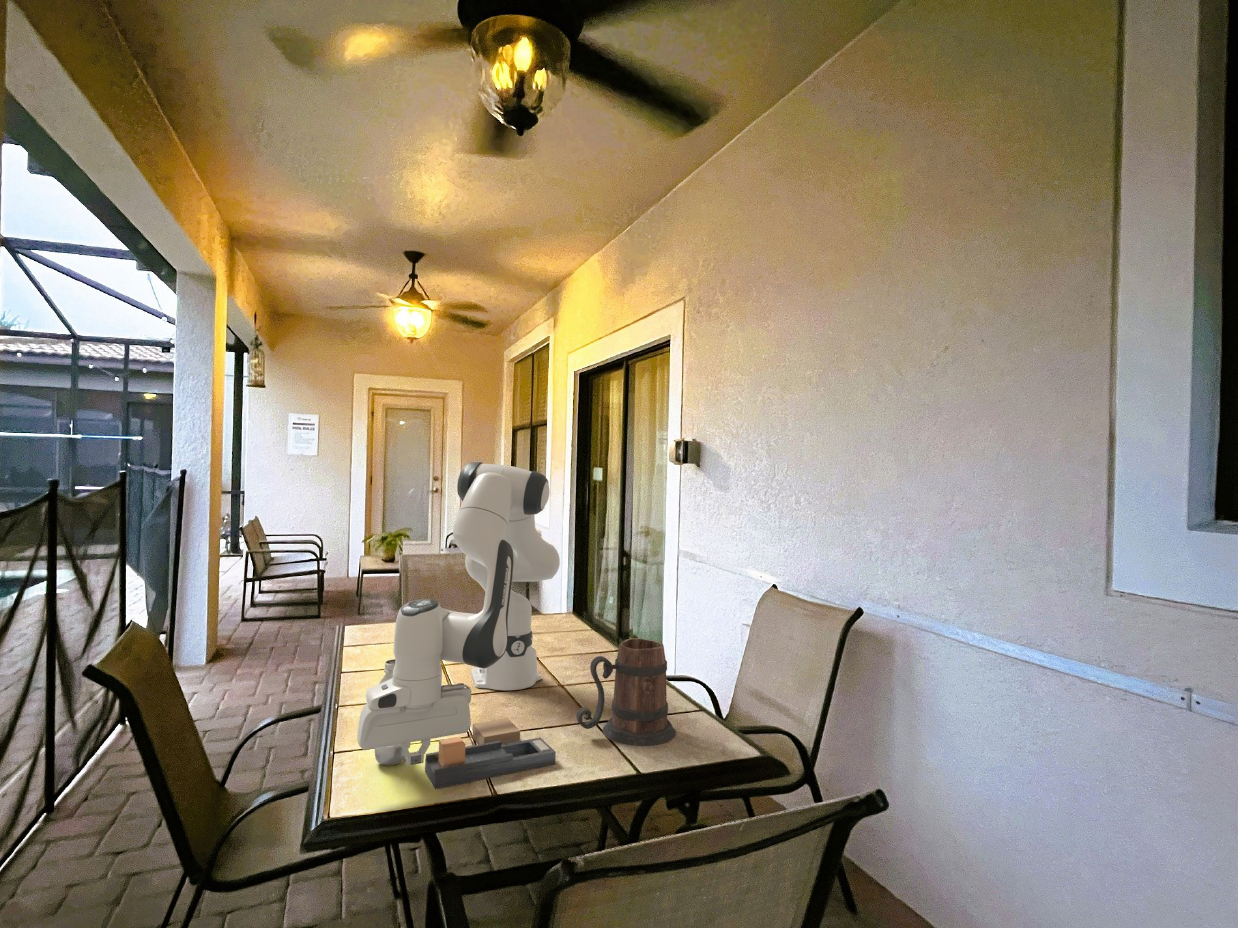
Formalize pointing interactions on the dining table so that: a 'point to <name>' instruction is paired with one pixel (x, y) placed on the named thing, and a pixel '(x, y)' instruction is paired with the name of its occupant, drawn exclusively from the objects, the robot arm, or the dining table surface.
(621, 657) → the tankard
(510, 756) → the grey slotted tray
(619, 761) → the dining table surface
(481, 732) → the brown square plate
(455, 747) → the peach foam cube
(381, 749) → the plastic bottle
